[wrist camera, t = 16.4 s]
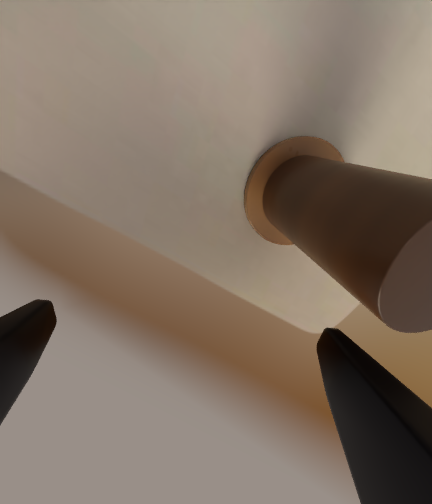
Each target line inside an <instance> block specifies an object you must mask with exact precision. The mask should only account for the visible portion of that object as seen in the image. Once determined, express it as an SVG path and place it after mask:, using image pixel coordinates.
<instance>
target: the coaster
mask: <svg viewBox="0 0 432 504" xmlns="http://www.w3.org/2000/svg"><path fill="white" fill-rule="evenodd" d="M303 155H308V156H315V157H320V158H325V159H330V160H335V161H340V162H344V160H343V158H342V156H341V154H340V153H339V152H338V150H337V149H336V148H335V147H334V146H333V145H332V144H330V143H329V142H327V141H325V140H323V139H320V138H316V137H308V136H300V137H293V138H289V139H286V140H284V141H281V142H280V143H278V144H276V145H274V146H273V147H272V148H270V149H269V150H268V151H267V152H266V153H265V154H264V155H263V156H262V157H261V158H260V159H259V160H258V162H257V163H256V164H255V166H254V168H253V169H252V171H251V173H250V175H249V178H248V181H247V184H246V188H245V194H244V206H245V212H246V215H247V218H248V220H249V222H250V224H251V226H252V227H253V228H254V229H255V231H256V232H257V233H258V234H259V235H260V236H262V237H263V238H264V239H266V240H268V241H270V242H272V243H276V244H281V245H293V244H294V243H293V242H291V241H290V240H289V239H288V238H287V237H286V236H285V235H283V234H282V233H281V232H280V231H279V230H278V229H277V228H275V227H274V226H273V225H272V224H271V223H270V222H269V221H268V219H267V217H266V216H265V213H264V210H263V202H262V201H263V192H264V189H265V186H266V183H267V181H268V179H269V178H270V176H271V175H272V173H273V172H274V171H275V170H276V169H277V168H278V167H279V166H280V165H281V164H282V163H284V162H285V161H287V160H289V159H291V158H294V157H297V156H303Z"/></svg>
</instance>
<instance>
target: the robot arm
mask: <svg viewBox="0 0 432 504" xmlns="http://www.w3.org/2000/svg"><path fill="white" fill-rule="evenodd" d="M56 322H57V321H56V315H55V312H54V307H53V304H52V302H51V301H49V300H39V299H38V300H34V301H32V302H30V303H28V304H26V305H24V306H22V307H20V308H18V309H16V310H14V311H12V312H10V313H8V314H6V315H4V316H2V317H0V425H1V423H2V422H3V420H4V418H5V417H6V415H7V414H8V412H9V410H10V409H11V407H12V405H13V404H14V402H15V401H16V399H17V397H18V395H19V394H20V392H21V391H22V389H23V387H24V386H25V384H26V383H27V381H28V380H29V378H30V376H31V374H32V373H33V371H34V368H35V367H36V365H37V363H38V361H39V359H40V357H41V355H42V353H43V351H44V349H45V347H46V345H47V343H48V341H49V339H50V337H51V334H52V332H53V330H54V328H55V326H56ZM317 354H318V359H319V364H320V368H321V373H322V378H323V382H324V387H325V391H326V395H327V399H328V402H329V406H330V409H331V412H332V415H333V418H334V421H335V424H336V427H337V431H338V434H339V437H340V440H341V443H342V446H343V449H344V452H345V455H346V459H347V462H348V465H349V468H350V471H351V474H352V477H353V480H354V483H355V487H356V490H357V493H358V496H359V499H360V502H361V504H432V408H431V407H430V406H428V405H427V404H426V403H425V402H424V401H423V400H421V399H420V398H419V397H418V396H417V395H415V394H414V393H413V392H412V391H411V390H410V389H408V388H407V387H406V386H405V385H404V384H402V383H401V382H400V381H399V380H398V379H396V378H395V377H394V376H393V375H392V374H391V373H390V372H388V371H387V370H386V369H385V368H384V367H383V366H381V365H380V364H379V363H378V362H377V361H376V360H374V359H373V358H372V357H371V356H370V355H369V354H367V353H366V352H365V351H364V350H363V349H361V348H360V347H359V346H358V345H357V344H355V343H354V342H353V341H352V340H351V339H350V338H349V337H347V336H346V335H345V334H344V333H343V332H341V331H340V330H339V329H335V328H325V329H324V331H323V333H322V335H321V337H320V339H319V341H318V343H317Z"/></svg>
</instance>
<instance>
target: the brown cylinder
mask: <svg viewBox="0 0 432 504" xmlns="http://www.w3.org/2000/svg"><path fill="white" fill-rule="evenodd" d="M262 202H263V210H264V213H265V216H266V217H267V219H268V221H269V222H270V223H271V224H272V225H273V226H274V227H275V228H277V229H278V230H279V231H280V232H281V233H282V234H283V235H285V236H286V237H287V238H288V239H289V240H290V241H291V242H293V243H294V244H295V245H296V246H297V247H298V248H299V249H301V250H302V251H303V252H304V253H305V254H306V255H307V256H308V257H310V258H311V259H312V260H313V261H314V262H315V263H316V264H318V265H319V266H320V267H321V268H322V269H323V270H324V271H326V272H327V273H328V274H329V275H330V276H331V277H332V278H333V279H335V280H336V281H337V282H338V283H339V284H340V285H341V286H343V287H344V288H345V289H346V290H347V291H348V292H349V293H351V294H352V295H353V296H354V297H355V298H356V299H357V300H358V301H360V302H361V303H362V304H363V305H364V306H365V307H366V308H368V309H369V310H370V311H371V312H372V313H374V315H376V316H377V317H378V318H379V319H380V320H381V321H382V322H384V323H385V324H386V325H387V326H388V327H390V328H392V329H393V330H396V331H399V332H405V333H417V332H423V331H428V330H431V329H432V179H427V178H422V177H417V176H412V175H407V174H402V173H397V172H391V171H386V170H381V169H376V168H371V167H366V166H361V165H356V164H351V163H345V162H340V161H335V160H330V159H325V158H320V157H315V156H308V155H303V156H297V157H294V158H291V159H289V160H287V161H285V162H284V163H282V164H281V165H280V166H279V167H278V168H277V169H276V170H275V171H274V172H273V173H272V175H271V176H270V178H269V179H268V181H267V183H266V186H265V189H264V192H263V201H262Z"/></svg>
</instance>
